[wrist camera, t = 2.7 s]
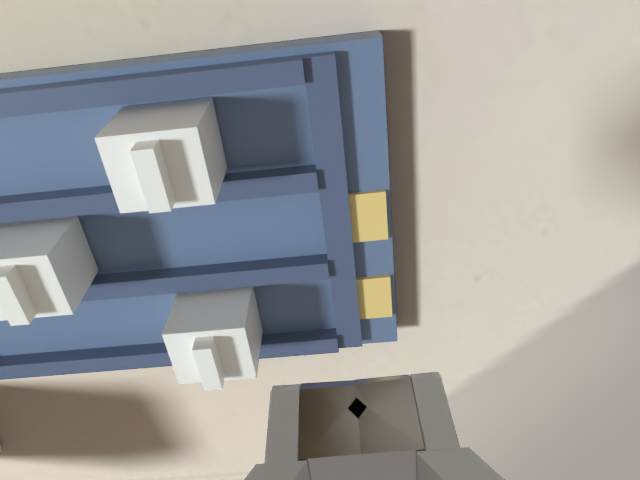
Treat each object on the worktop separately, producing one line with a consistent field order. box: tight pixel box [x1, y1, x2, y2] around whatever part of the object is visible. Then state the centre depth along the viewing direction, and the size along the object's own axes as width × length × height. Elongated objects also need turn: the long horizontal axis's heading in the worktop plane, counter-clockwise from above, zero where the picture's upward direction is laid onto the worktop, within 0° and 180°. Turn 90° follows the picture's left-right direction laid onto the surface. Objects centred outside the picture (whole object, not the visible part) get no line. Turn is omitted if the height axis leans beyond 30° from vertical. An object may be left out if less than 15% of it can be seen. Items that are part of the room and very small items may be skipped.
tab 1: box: [0, 216, 99, 326], centre depth 24 cm, size 4×3×4 cm
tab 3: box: [162, 287, 263, 391], centre depth 26 cm, size 4×3×4 cm
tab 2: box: [94, 97, 227, 213], centre depth 21 cm, size 4×3×4 cm
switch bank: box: [0, 30, 397, 380], centre depth 26 cm, size 24×15×2 cm, turn 96°
